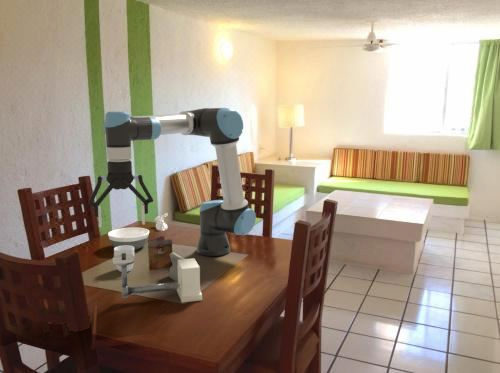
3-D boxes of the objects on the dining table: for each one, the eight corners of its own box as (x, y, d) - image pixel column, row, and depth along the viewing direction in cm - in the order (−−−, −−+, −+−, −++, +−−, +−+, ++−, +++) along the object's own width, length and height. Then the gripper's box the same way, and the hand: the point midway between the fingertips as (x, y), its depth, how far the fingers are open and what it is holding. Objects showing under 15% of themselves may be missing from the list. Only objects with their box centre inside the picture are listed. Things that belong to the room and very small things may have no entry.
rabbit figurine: (153, 229, 248) (152, 212, 247) (166, 228, 251) (166, 210, 250) (158, 234, 238) (157, 216, 236) (172, 233, 241) (171, 215, 239)
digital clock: (196, 283, 170) (195, 260, 169) (175, 286, 168) (175, 262, 166) (186, 271, 183) (186, 249, 182) (167, 274, 180) (166, 251, 179)
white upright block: (195, 287, 166) (195, 257, 165) (202, 300, 155) (201, 267, 153) (176, 289, 164) (175, 259, 162) (181, 302, 153) (181, 270, 151)
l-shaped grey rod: (178, 287, 162) (177, 244, 159) (181, 294, 155) (180, 249, 153) (114, 294, 155) (112, 249, 153) (114, 302, 149) (112, 255, 146)
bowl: (158, 247, 215) (158, 230, 214) (128, 258, 199) (127, 239, 198) (130, 241, 225) (129, 225, 223) (99, 251, 209) (98, 233, 208)
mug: (140, 273, 181) (139, 250, 179) (120, 277, 176) (119, 253, 175) (131, 265, 190) (130, 244, 188) (112, 269, 185) (111, 247, 184)
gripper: (157, 158, 153) (159, 219, 156) (78, 160, 145) (82, 225, 149) (160, 160, 146) (162, 224, 149) (77, 162, 138) (81, 230, 142)
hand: (122, 225), depth 149 cm, fingers open, 13 cm apart
